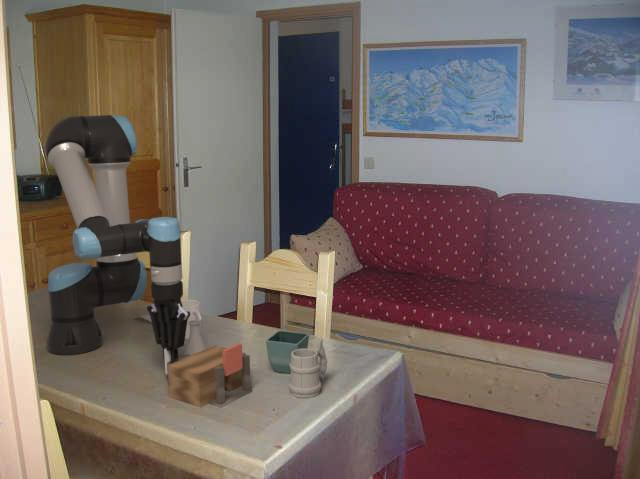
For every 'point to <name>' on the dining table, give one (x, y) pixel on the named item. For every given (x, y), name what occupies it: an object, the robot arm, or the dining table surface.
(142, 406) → the dining table surface
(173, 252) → the robot arm
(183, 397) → the block
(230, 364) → the block
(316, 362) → the mug
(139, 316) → the fork
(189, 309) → the mug
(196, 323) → the flask
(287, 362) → the flower pot
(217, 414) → the dining table surface
